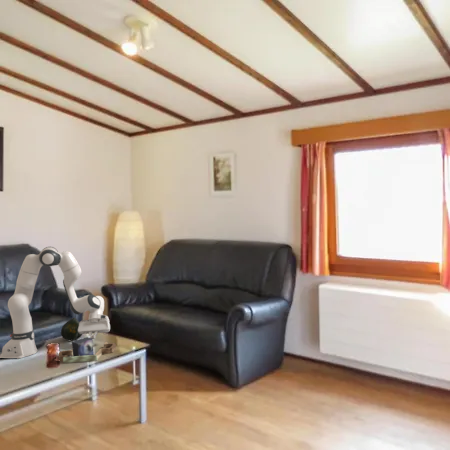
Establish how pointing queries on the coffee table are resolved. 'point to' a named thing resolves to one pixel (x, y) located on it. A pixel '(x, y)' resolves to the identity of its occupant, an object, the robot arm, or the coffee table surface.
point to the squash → (71, 330)
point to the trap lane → (107, 349)
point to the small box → (83, 347)
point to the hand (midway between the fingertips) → (92, 338)
